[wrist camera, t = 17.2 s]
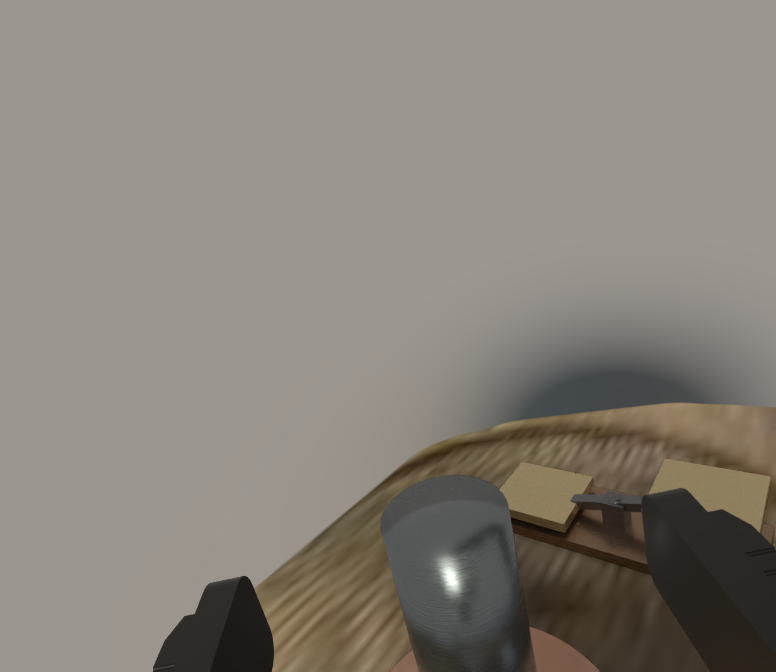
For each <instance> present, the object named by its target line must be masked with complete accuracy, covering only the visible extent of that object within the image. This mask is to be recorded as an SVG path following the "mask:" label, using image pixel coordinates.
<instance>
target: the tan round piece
mask: <svg viewBox="0 0 776 672" xmlns="http://www.w3.org/2000/svg"><path fill="white" fill-rule="evenodd" d="M529 628H530V634H531V640H532V645H533V651H534V657H535V663H536V669H537V672H600V671H599V670H598V669H597V668H596V667H595V666H594V665H593V664H592V663H591V662H590V661H589V660H588V659H587V658H586V657H584V656H583V655H582V654H581V653H579V652H578V651H577V650H575V649H574V648H573V647H571V646H570V645H568V644H567V643H565V642H563V641H562V640H560V639H558V638H556V637H554V636H552V635H550V634H548V633H545V632H543V631H541V630H538V629H535V628H531V627H529ZM391 672H418V668H417V664H416V660H415V657H414V653H413V650H411V651H410V652H409V653H408V654H406V655H405V656H404V657H403V658H402V659H401V660H400V661H399V662H398V663H397V664H396V665H395V666H394V668H393V669H392V670H391Z"/></svg>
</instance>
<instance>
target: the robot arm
mask: <svg viewBox="0 0 776 672" xmlns="http://www.w3.org/2000/svg"><path fill="white" fill-rule="evenodd" d="M641 506H642V517H643V528H644V539H645V551H646V559H647V564H648V567H649V571H650V573H651V576H652V579H653V581H654V583H655V585H656V587H657V589H658V591H659V592H660V594H661V596H662V597H663V599H664V600H665V602H666V603H667V605H668V606H669V608H670V610H671V611H672V613H673V614H674V616H675V617H676V619H677V620H678V622H679V623H680V625H681V627H682V628H683V630H684V631H685V633H686V634H687V636H688V637H689V639H690V641H691V642H692V644H693V645H694V647H695V648H696V650H697V651H698V653H699V654H700V656H701V658H702V659H703V661H704V662H705V664H706V665H707V667H708V668H709V670H710V672H776V550H775V548H774V546H773V545H772V544H771V543H770V542H769V541H768V540H767V539H766V538H765V537H764V536H763V535H762V534H761V533H759V532H758V531H757V530H756V529H755V528H754V527H753V526H752V525H751V524H749V523H747V522H745V521H743V520H742V519H740V518H738V517H736V516H734V515H732V514H730V513H729V512H727V511H725V510H723V509H720V510H715V511H710V512H707V511H706V510H705V508H704V507H703V506H702V505H701V504H700V503H699V502H698V501H697V500H696V499H695V498H694V497H693V495H692V494H691V493H690V492H689V491H688V490H686V489H684V488H678V489H673V490H668V491H663V492H658V493H653V494H648V495H644V496H643V497H642V501H641ZM273 660H274V646H273V638H272V633H271V630H270V627H269V625H268V622H267V620H266V617H265V615H264V612H263V610H262V607H261V605H260V602H259V600H258V598H257V595H256V593H255V590H254V588H253V585H252V583H251V581H250V579H249V578H248V577H246V576H242V577H237V578H232V579H227V580H222V581H218V582H213V583H210V584H208V585H207V586H206V588H205V590H204V592H203V594H202V597H201V600H200V602H199V605H198V608H197V610H196V612H195V614H193V615H188V616H184V617H183V619H182V620H181V621H180V622H179V624H178V625H177V626H176V627H175V629H174V630H173V631H172V632H171V634H170V635H169V636H168V637H167V639H166V640H165V641H164V644H163V646H162V648H161V650H160V653H159V655H158V657H157V660H156V662H155V664H154V666H153V672H272V667H273Z"/></svg>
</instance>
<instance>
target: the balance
mask: <svg viewBox="0 0 776 672" xmlns="http://www.w3.org/2000/svg"><path fill="white" fill-rule="evenodd" d="M770 487H771V477H770V476H764V475H758V474H753V473H747V472H741V471H735V470H729V469H723V468H718V467H712V466H706V465H700V464H694V463H688V462H683V461H677V460H671V459H665V460H664V462H663V464H662V466H661V468H660V471H659V473H658V475H657V477H656V479H655V481H654V483H653V486H652V488H651V490H650V492H649V494H653V493H658V492H663V491H668V490H673V489H678V488H684V489H686V490H688V491H689V492H690V493H691V494H692V495H693V497H694V498H695V499H696V500H697V501H698V502H699V503H700V504H701V505H702V506H703V507H704V508H705V510H706V511H707V512H710V511H715V510H720V509H723V510H725V511H727V512H729V513H730V514H732V515H734V516H736V517H738V518H740V519H742V520H743V521H745V522H747V523H749V524H751V525H752V526H753V527H754V528H755V529H756V530H757V531H758V532H759V533H761V534H762V535H763V536H764V537H765V538H766V539H767V540H768V541H769V542H770V543H771V544H772V545H773V539H774V526H771V525H767V524H764V518H765V513H766V508H767V503H768V498H769V492H770ZM499 490H500V491H501V492H502V493H503V494H504V496H505V498H506V499H507V502H508V506H509V512H510V518H511V523H512V529H513V532H514V533H517V534H520V535H523V536H527V537H530V538H533V539H536V540H540V541H543V542H546V543H549V544H553V545H556V546H559V547H563V548H566V549H569V550H572V551H576V552H579V553H582V554H585V555H589V556H592V557H595V558H598V559H602V560H605V561H608V562H611V563H615V564H618V565H621V566H625V567H628V568H631V569H634V570H638V571H641V572H644V573H647V574H651V573H650V571H649V567H648V564H647V559H646V551H645V539H644V528H643V517H642V506H641V501H642V497H643V496H635V495H630V494H626V493H621V492H617V491H612V490H608V489H603V488H599V487H594V481H593V477H592V476H587V475H582V474H577V473H573V472H568V471H563V470H558V469H554V468H549V467H544V466H539V465H534V464H530V463H525V462H522V463H521V464H520V465H519V466H518V467H517V469H516V470H515V471H514V472H513V474H512V475H511V476H510V477H509V478H508V480H507V481H506V482H505V483H504V485H503V486H502V487H501V488H500V489H499Z"/></svg>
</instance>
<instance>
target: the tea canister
mask: <svg viewBox="0 0 776 672" xmlns="http://www.w3.org/2000/svg"><path fill="white" fill-rule="evenodd" d="M381 532H382V536H383V540H384V544H385V548H386V551H387V555H388V559H389V563H390V566H391V570H392V574H393V578H394V581H395V585H396V589H397V593H398V596H399V600H400V604H401V608H402V611H403V615H404V619H405V623H406V627H407V630H408V634H409V638H410V642H411V645H412V649H413V653H414V657H415V660H416V664H417V668H418V672H537V669H536V663H535V657H534V651H533V645H532V640H531V634H530V628H529V622H528V616H527V610H526V605H525V599H524V593H523V587H522V581H521V576H520V570H519V564H518V558H517V552H516V547H515V541H514V535H513V529H512V523H511V518H510V512H509V506H508V502H507V499H506V498H505V496H504V494H503V493H502V492H501V491H500V490H499V489H498V488H497V487H496V486H494V485H493V484H491V483H489V482H487V481H485V480H482V479H479V478H476V477H471V476H464V475H447V476H440V477H434V478H430V479H427V480H424V481H421V482H418V483H416V484H414V485H412V486H410V487H408V488H406V489H405V490H403V491H402V492H400V493H399V494H398V495H397V496H396V497H395V498H394V499H393V500H392V501H391V502H390V503H389V504H388V505H387V507H386V509H385V510H384V513H383V515H382V518H381Z"/></svg>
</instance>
